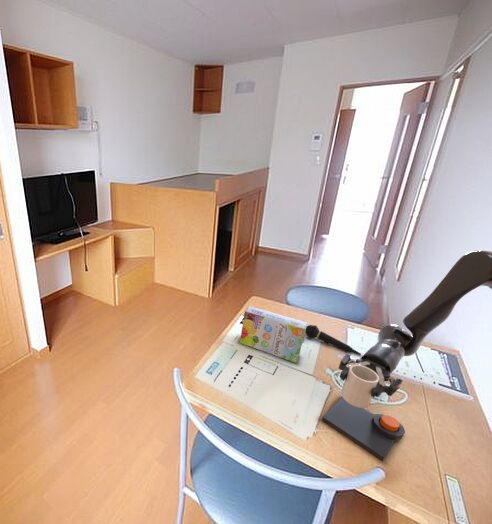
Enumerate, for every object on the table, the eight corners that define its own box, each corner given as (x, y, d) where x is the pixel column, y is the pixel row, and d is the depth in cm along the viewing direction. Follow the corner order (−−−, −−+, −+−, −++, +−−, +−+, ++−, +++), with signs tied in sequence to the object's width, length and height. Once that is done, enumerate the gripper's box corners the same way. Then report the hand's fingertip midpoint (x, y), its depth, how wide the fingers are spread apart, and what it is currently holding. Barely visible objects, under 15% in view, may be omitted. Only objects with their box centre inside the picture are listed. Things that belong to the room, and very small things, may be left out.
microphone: (357, 359, 117) (303, 333, 129) (364, 346, 116) (309, 321, 127) (356, 363, 113) (301, 335, 124) (364, 349, 112) (307, 323, 123)
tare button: (399, 426, 84) (401, 422, 83) (394, 434, 81) (396, 429, 81) (382, 416, 87) (384, 412, 86) (377, 424, 84) (379, 419, 84)
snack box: (299, 355, 115) (308, 321, 109) (296, 364, 110) (305, 329, 104) (243, 336, 126) (248, 304, 120) (238, 343, 121) (244, 310, 115)
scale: (404, 434, 84) (408, 426, 83) (387, 464, 77) (390, 456, 76) (342, 397, 96) (344, 390, 95) (321, 420, 88) (324, 412, 87)
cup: (373, 400, 84) (383, 375, 81) (363, 412, 81) (373, 386, 77) (346, 385, 89) (355, 361, 86) (337, 396, 86) (345, 371, 82)
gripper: (356, 338, 94) (332, 359, 85) (415, 363, 84) (394, 392, 75) (350, 357, 97) (326, 380, 88) (405, 384, 87) (385, 414, 77)
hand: (357, 385), depth 81 cm, fingers closed on cup, 6 cm apart
